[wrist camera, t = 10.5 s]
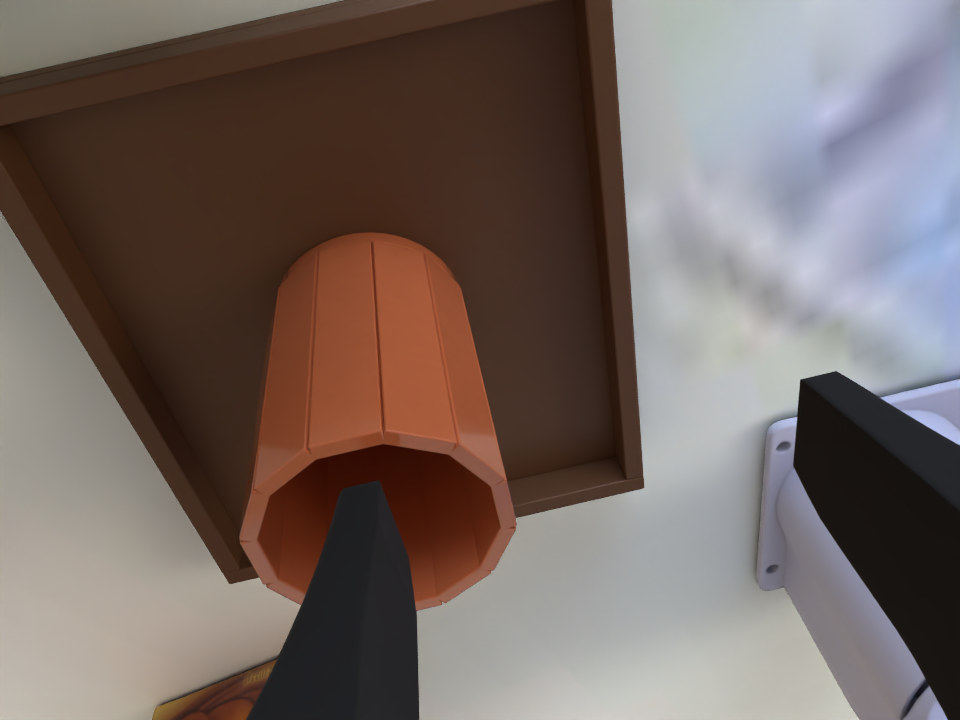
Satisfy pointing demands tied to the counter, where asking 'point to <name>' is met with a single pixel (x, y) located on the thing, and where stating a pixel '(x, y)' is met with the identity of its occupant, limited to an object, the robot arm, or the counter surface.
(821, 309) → the counter surface
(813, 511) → the robot arm
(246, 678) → the candy box
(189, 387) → the tray
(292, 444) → the cup
